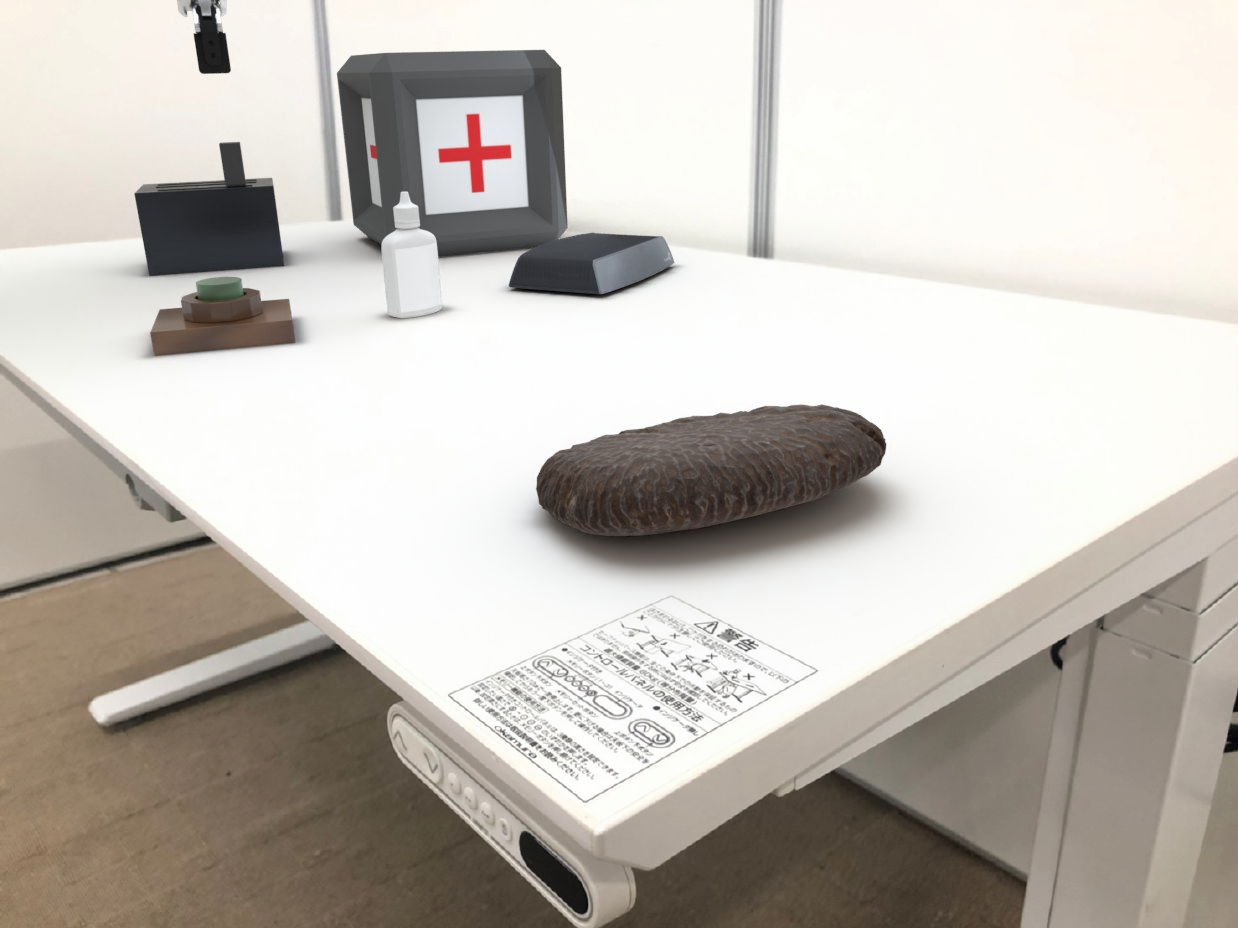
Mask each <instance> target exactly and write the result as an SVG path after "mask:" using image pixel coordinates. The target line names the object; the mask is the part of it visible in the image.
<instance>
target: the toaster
mask: <svg viewBox="0 0 1238 928" xmlns="http://www.w3.org/2000/svg"><path fill="white" fill-rule="evenodd" d="M245 180H246V185H234V186H226V185H225V180H224V179H222V180H221V179H220V180H201V181H200V180H199V181H186V182H185V181H183V182H181V181H179V182H164V183H163V182H162V183H143V184H142V185H141V186H140V187H139V188H137V190H136V191H134V193H133V195H134V199H135V205H136V210H137V216H138V217H137V218H138V222H139V226H140V233H141V238H142V244H143V249H144V254H145V260H146V266H147V271H148V276H149V277H156V276H157V277H158V276H169V275H171V276H172V275H184V274H197V273H208V272H209V273H211V272H224V271H225V272H226V271H235V270H236V271H237V270H249V269H251V270H252V269H264V268H265V269H266V268H275V267H285V260H284V253H283V252H284V251H283V246H282V244H283V243H282V238H281V231H280V230H281V229H280V223H279V216H278V209H277V202H276V201H277V200H276V194H275V185H274V179H273V177H260V178H259V177H257V178H245Z"/></svg>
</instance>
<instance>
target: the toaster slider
mask: <svg viewBox="0 0 1238 928" xmlns="http://www.w3.org/2000/svg"><path fill="white" fill-rule="evenodd" d="M218 145H219V152H220V160H221V165H222V167H221V168H222V173H223V180H225V185H226V186H234V185H246V180H245V179H246V174H245V167H244V159H243V152H242V145H241V141H227V142H219V143H218Z"/></svg>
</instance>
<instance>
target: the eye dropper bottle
mask: <svg viewBox="0 0 1238 928" xmlns="http://www.w3.org/2000/svg"><path fill="white" fill-rule="evenodd" d="M393 211H394V222H395V228H398V229H396V230H395V231H394V232H392V233H390V234H389V235H387V236H386V237H385V238H384V239H383V241H382V244H381V245H380V246H381V247H380V249H381V261H382V271H383V282H384V291H385V298H386V299H385V300H386V309H387V314H388V316H390V317H393V318H397V319H412V318H417V317H418V318H419V317H423V316H427V315H431V314H435V313H437V312H440V311H441V310H442V309H443V299H442V298H443V297H442V287H441V286H442V285H441V274H440V262H439V261H440V260H439V256H438V250H437V242H436V238H435V236H434V235H433V234H432V233H430V232H428V231H426V230H422V229H420V228H418V227H419V226H420V220H419V209H418V206H417V205H415V204H413V203H412V202H411V201H410V197H409V194H408V192H401V194H400V202H399V204H398V205H396V206H394V207H393Z"/></svg>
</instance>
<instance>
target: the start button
mask: <svg viewBox="0 0 1238 928" xmlns="http://www.w3.org/2000/svg"><path fill="white" fill-rule="evenodd" d="M195 287H196V292H197V294H198V300H206V301H216V300H228V299H233V298H238V297H242V296H244V293H243V288H244V286H243V280H242V278H241V277H237V276H215V277H209V278H203V279H200V280H197V281H196V282H195Z"/></svg>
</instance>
